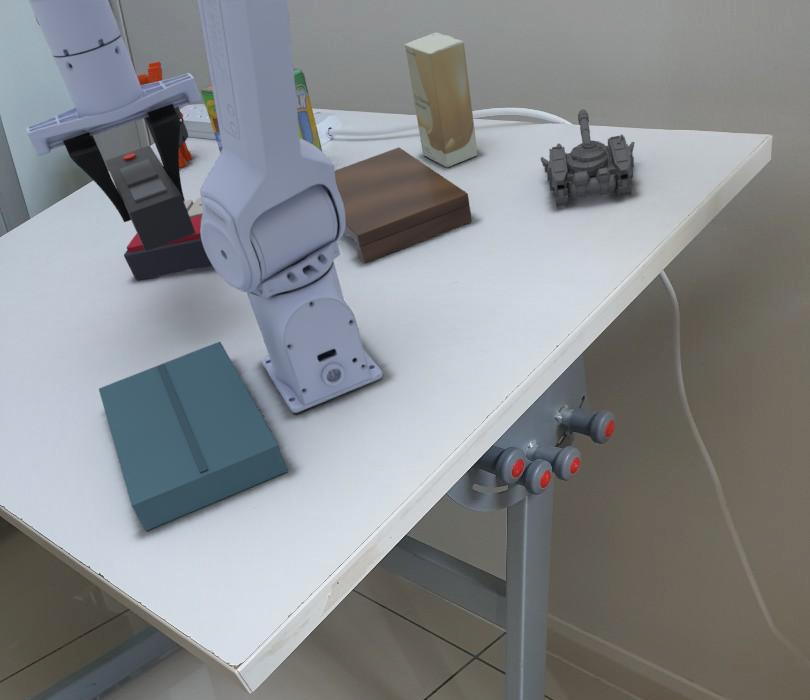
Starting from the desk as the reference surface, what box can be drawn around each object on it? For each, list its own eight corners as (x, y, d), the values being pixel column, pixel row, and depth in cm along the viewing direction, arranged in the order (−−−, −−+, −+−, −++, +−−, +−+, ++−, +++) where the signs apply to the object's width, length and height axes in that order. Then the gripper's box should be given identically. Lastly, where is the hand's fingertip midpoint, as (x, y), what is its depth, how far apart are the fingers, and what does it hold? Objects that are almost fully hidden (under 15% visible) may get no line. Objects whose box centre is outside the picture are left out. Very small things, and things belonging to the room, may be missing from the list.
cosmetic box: (421, 155, 104) (401, 43, 95) (453, 143, 105) (435, 30, 96) (448, 169, 99) (428, 52, 91) (480, 155, 100) (464, 38, 92)
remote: (195, 233, 74) (180, 192, 72) (145, 251, 74) (128, 210, 71) (163, 180, 86) (148, 143, 83) (119, 195, 85) (103, 158, 83)
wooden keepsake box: (472, 222, 88) (468, 193, 86) (364, 264, 86) (357, 235, 84) (404, 173, 101) (399, 146, 99) (309, 208, 99) (301, 182, 97)
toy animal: (165, 155, 123) (131, 64, 115) (201, 150, 122) (168, 57, 114) (145, 179, 118) (107, 84, 109) (182, 173, 116) (146, 77, 108)
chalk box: (229, 188, 109) (186, 59, 99) (287, 158, 112) (250, 31, 102) (271, 200, 103) (229, 65, 93) (330, 169, 106) (296, 35, 96)
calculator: (152, 204, 99) (273, 177, 95) (168, 239, 102) (286, 215, 98) (118, 249, 92) (249, 222, 88) (136, 286, 95) (264, 261, 91)
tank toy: (541, 166, 94) (536, 116, 91) (631, 151, 93) (630, 99, 89) (545, 214, 86) (540, 161, 82) (644, 198, 84) (643, 144, 81)
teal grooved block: (288, 471, 64) (277, 443, 62) (146, 531, 62) (130, 504, 60) (229, 365, 77) (219, 339, 75) (110, 412, 75) (97, 386, 73)
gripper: (163, 10, 74) (218, 169, 83) (-3, 63, 72) (72, 221, 81) (179, 22, 69) (235, 191, 78) (0, 80, 67) (80, 246, 76)
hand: (153, 208), depth 79 cm, fingers closed on remote, 4 cm apart
